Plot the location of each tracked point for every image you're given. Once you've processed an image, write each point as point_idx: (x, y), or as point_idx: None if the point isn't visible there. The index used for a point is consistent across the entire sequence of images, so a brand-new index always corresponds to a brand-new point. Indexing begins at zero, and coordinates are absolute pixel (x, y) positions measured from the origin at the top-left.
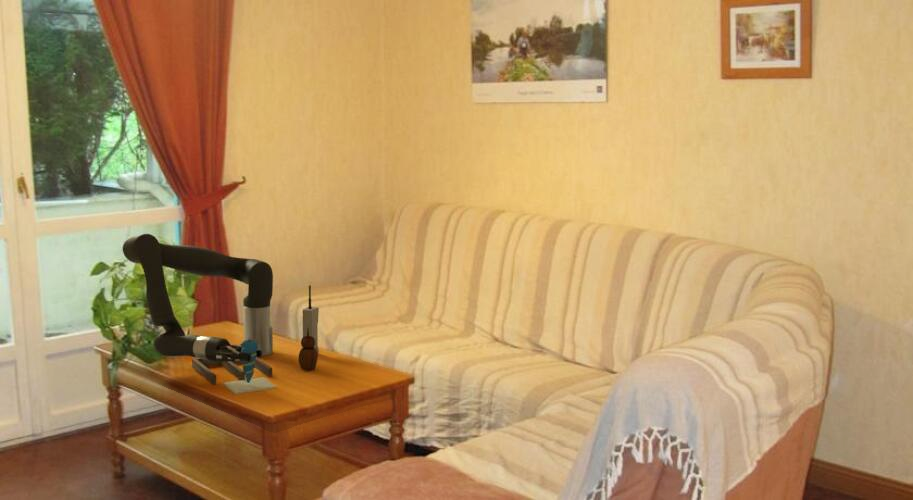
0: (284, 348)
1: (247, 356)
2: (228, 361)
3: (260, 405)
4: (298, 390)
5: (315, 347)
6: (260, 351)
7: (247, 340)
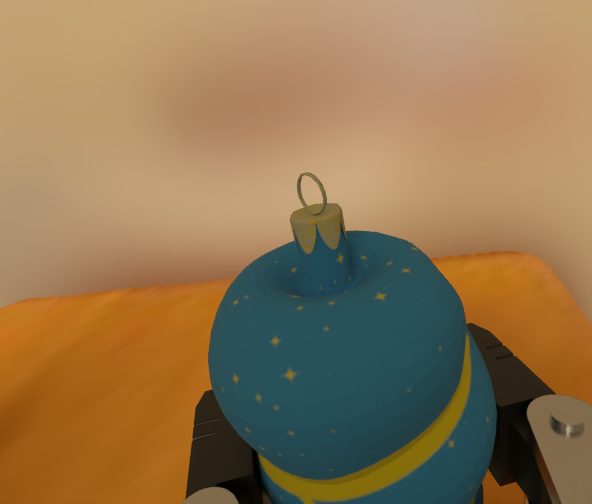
0: None
1: (471, 327)
2: None
3: (527, 322)
4: None
5: None
6: None
7: (313, 299)
